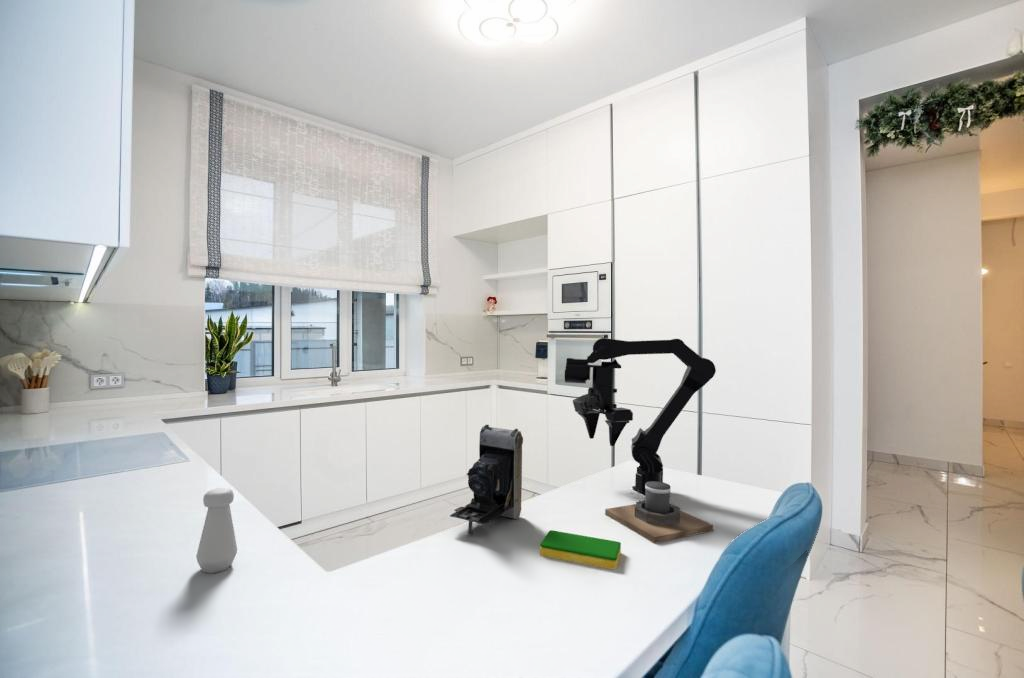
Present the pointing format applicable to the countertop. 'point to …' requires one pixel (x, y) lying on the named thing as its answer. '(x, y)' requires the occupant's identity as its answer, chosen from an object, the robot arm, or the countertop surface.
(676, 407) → the robot arm
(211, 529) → the salt shaker
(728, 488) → the countertop surface
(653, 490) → the lens
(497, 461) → the vintage camera
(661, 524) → the mount
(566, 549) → the dish sponge
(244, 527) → the countertop surface
